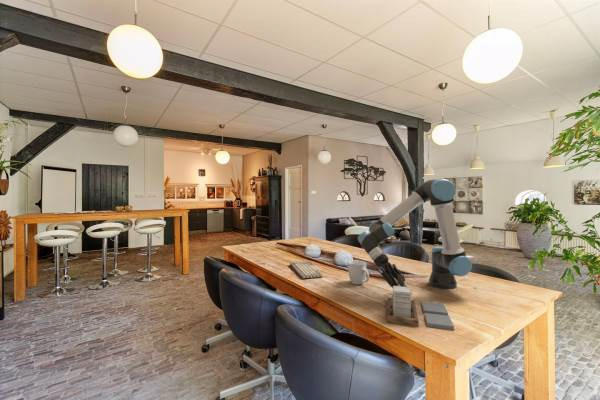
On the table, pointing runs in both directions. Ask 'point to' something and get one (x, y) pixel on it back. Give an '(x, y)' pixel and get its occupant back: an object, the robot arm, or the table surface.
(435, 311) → the broken grey strip
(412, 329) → the table surface
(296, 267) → the mechanical keyboard
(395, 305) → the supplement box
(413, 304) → the brown base with post
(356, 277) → the mug
